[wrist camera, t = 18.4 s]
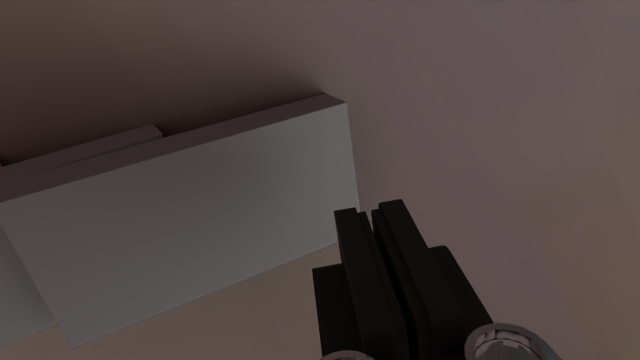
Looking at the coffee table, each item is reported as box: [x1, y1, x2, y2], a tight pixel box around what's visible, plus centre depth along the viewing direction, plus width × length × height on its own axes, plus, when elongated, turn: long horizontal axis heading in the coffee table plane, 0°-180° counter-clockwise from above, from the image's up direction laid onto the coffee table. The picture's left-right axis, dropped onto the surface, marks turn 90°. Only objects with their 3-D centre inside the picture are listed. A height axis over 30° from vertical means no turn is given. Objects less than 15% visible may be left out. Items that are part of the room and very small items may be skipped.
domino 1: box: [0, 123, 163, 349], centre depth 14 cm, size 2×5×10 cm
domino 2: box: [0, 93, 360, 349], centre depth 14 cm, size 2×5×10 cm
